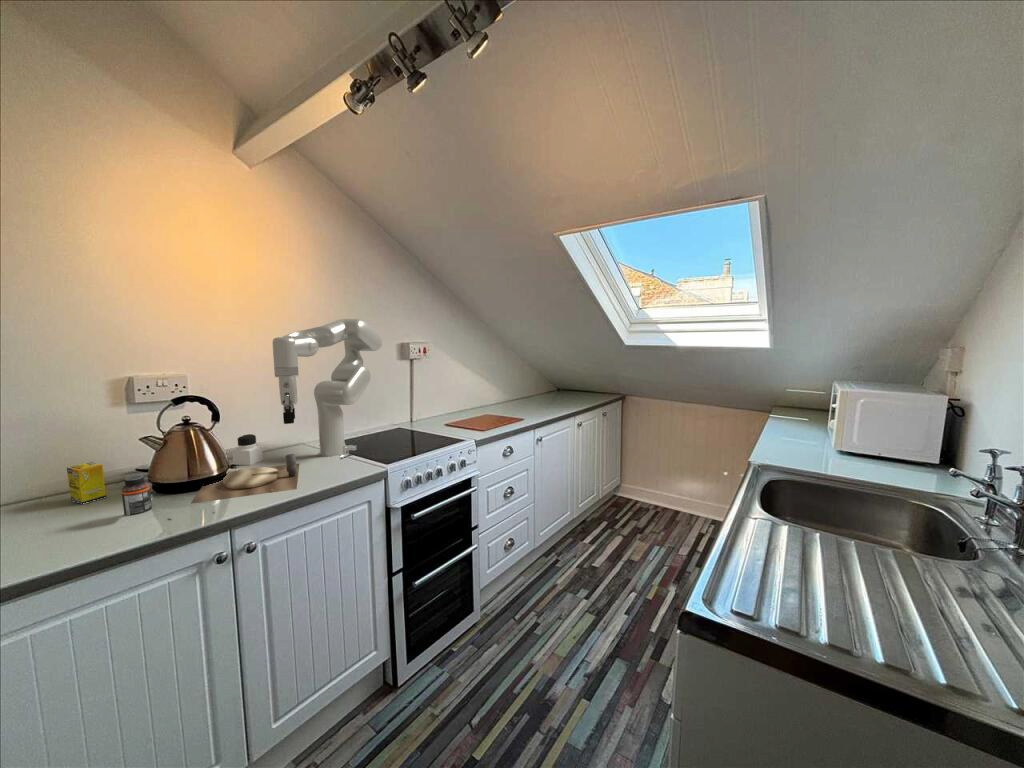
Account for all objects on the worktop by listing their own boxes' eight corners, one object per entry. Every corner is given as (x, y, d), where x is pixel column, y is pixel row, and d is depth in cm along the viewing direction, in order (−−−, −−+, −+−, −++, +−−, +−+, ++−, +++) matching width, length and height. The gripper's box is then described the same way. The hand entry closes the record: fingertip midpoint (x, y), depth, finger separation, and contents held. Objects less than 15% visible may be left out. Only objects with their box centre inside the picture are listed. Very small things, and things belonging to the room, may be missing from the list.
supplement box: (70, 502, 128) (65, 467, 126) (95, 494, 133) (91, 461, 132) (82, 505, 126) (77, 469, 124) (106, 497, 131) (102, 463, 130)
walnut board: (299, 467, 161) (299, 463, 161) (296, 493, 136) (296, 488, 136) (211, 477, 149) (211, 473, 149) (190, 508, 124) (190, 503, 124)
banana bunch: (218, 491, 132) (216, 469, 131) (228, 475, 146) (226, 455, 145) (295, 481, 141) (294, 461, 140) (297, 467, 155) (296, 448, 154)
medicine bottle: (263, 463, 166) (261, 433, 164) (250, 469, 159) (248, 438, 157) (246, 462, 166) (244, 432, 165) (233, 468, 159) (230, 437, 158)
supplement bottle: (130, 513, 121) (125, 475, 119) (155, 509, 123) (151, 472, 121) (120, 521, 115) (115, 482, 114) (147, 518, 117) (143, 479, 116)
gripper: (297, 374, 143) (300, 425, 145) (299, 369, 158) (302, 415, 161) (272, 375, 139) (275, 427, 142) (276, 370, 155) (279, 417, 157)
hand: (289, 420), depth 151 cm, fingers open, 7 cm apart
